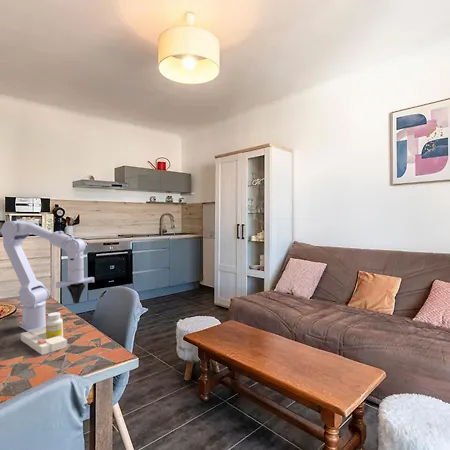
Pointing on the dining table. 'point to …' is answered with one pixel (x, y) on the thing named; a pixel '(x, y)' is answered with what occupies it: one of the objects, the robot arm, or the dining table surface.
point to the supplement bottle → (54, 325)
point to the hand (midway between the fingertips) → (76, 302)
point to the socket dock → (43, 341)
